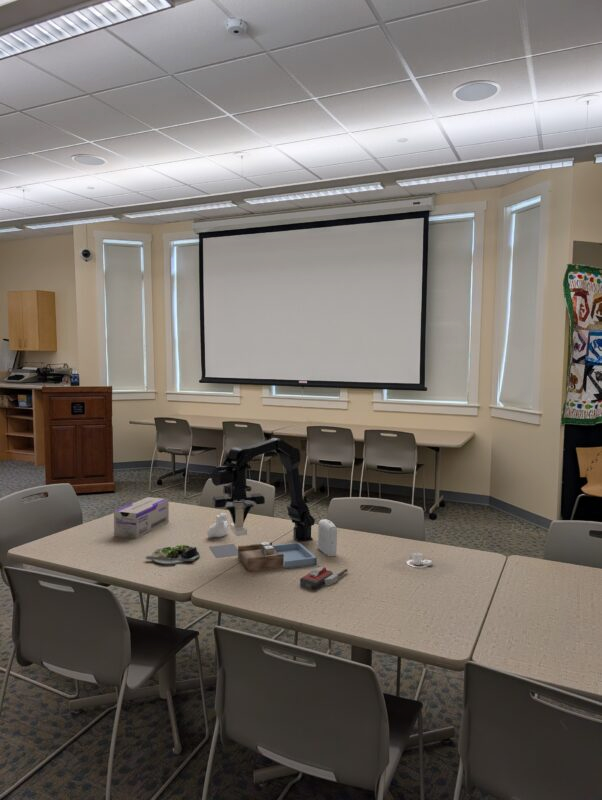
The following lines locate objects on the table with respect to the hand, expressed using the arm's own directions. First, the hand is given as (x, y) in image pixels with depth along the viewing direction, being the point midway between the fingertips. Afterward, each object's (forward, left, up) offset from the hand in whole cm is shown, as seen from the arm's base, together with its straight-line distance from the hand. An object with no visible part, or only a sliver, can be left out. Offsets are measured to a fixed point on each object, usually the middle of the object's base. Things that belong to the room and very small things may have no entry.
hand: (238, 523), depth 205 cm
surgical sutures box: (+30, -47, -13) cm, 58 cm away
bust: (+1, -26, -13) cm, 29 cm away
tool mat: (+3, -7, -13) cm, 15 cm away
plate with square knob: (0, 0, -3) cm, 3 cm away
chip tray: (-19, +8, -13) cm, 24 cm away
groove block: (-6, +8, -13) cm, 16 cm away
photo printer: (-34, +6, -13) cm, 37 cm away
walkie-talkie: (-21, +31, -14) cm, 40 cm away
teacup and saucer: (-59, +31, -14) cm, 69 cm away
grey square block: (-9, +10, -10) cm, 17 cm away
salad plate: (+21, -7, -14) cm, 26 cm away
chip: (-9, +6, -10) cm, 14 cm away
